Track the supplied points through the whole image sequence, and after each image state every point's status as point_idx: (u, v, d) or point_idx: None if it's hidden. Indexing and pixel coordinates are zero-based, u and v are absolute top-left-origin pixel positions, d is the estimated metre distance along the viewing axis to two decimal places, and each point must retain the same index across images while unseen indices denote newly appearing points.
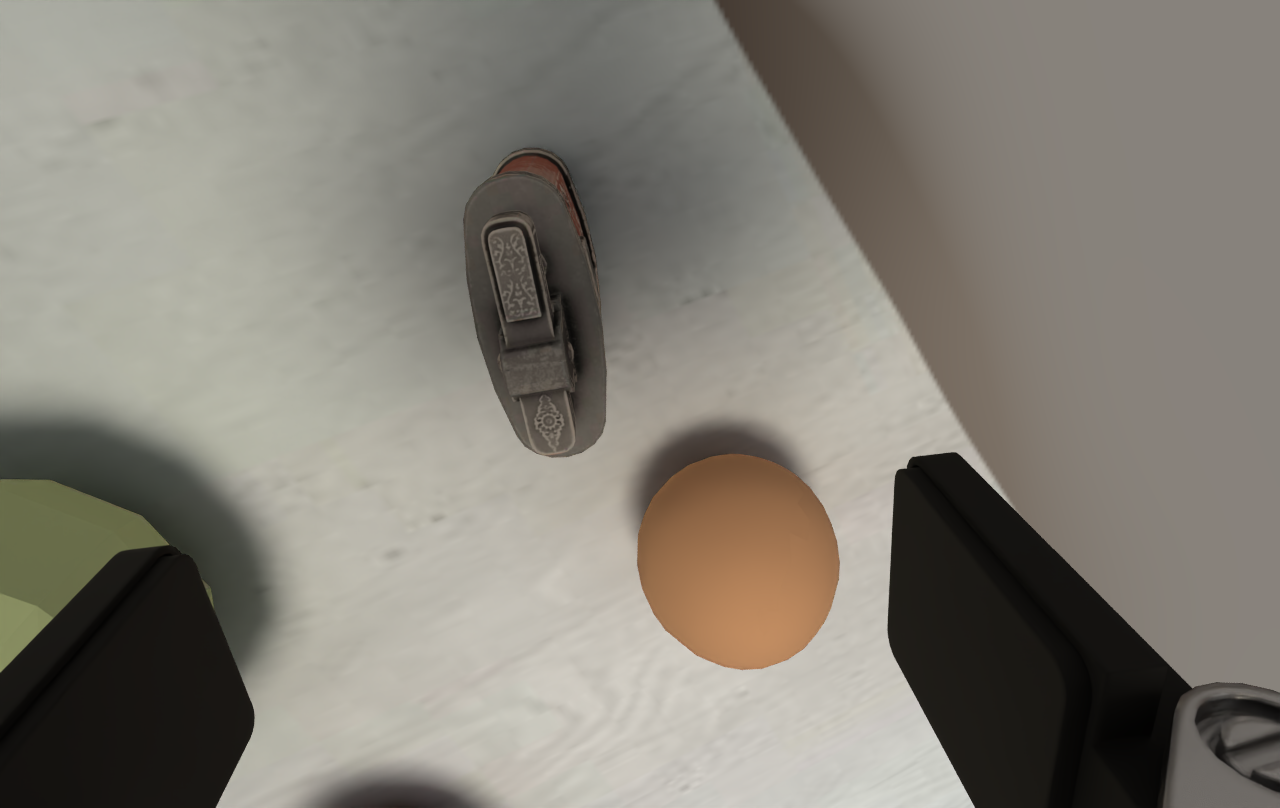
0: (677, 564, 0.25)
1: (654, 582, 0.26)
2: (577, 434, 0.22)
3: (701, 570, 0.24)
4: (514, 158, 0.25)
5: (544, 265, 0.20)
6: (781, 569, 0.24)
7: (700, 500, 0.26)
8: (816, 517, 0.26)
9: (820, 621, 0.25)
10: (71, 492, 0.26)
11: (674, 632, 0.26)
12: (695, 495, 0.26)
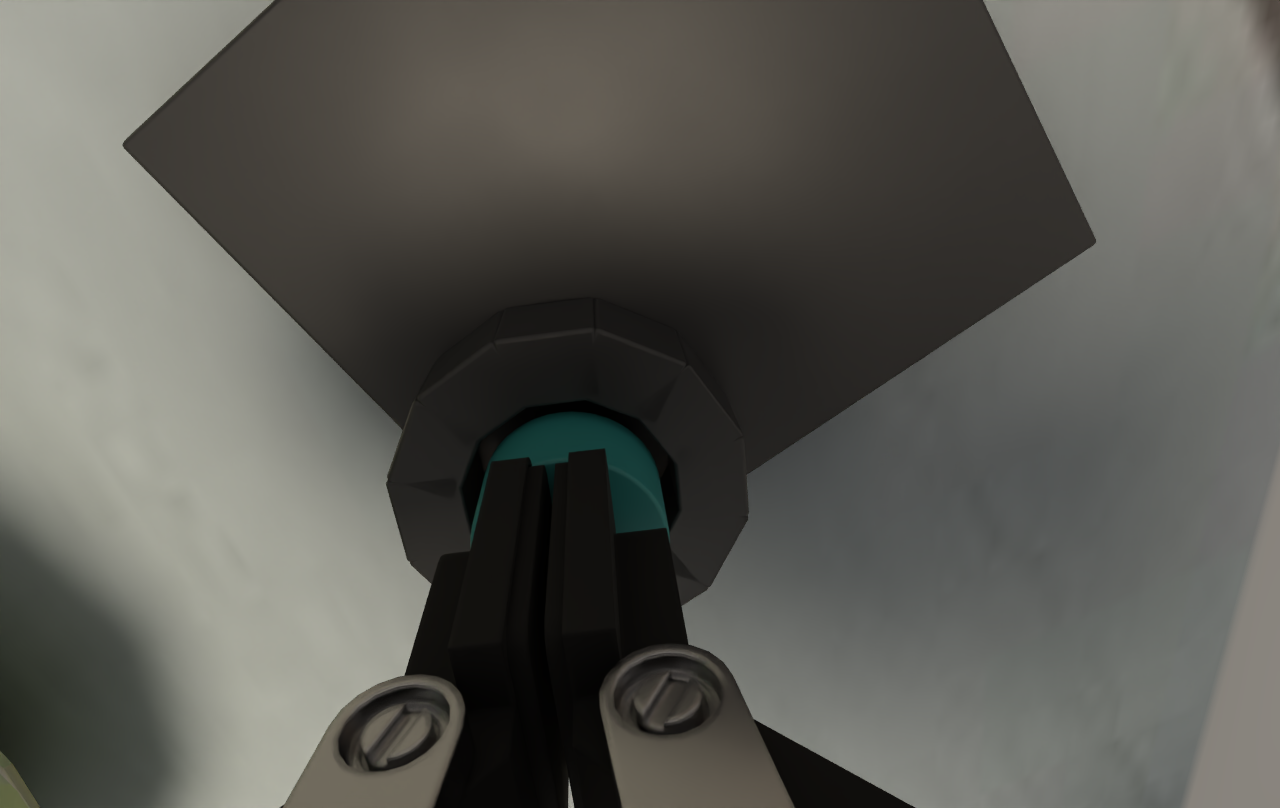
0: None
1: None
2: None
3: None
4: None
5: None
6: None
7: None
8: None
9: None
10: None
11: None
12: None
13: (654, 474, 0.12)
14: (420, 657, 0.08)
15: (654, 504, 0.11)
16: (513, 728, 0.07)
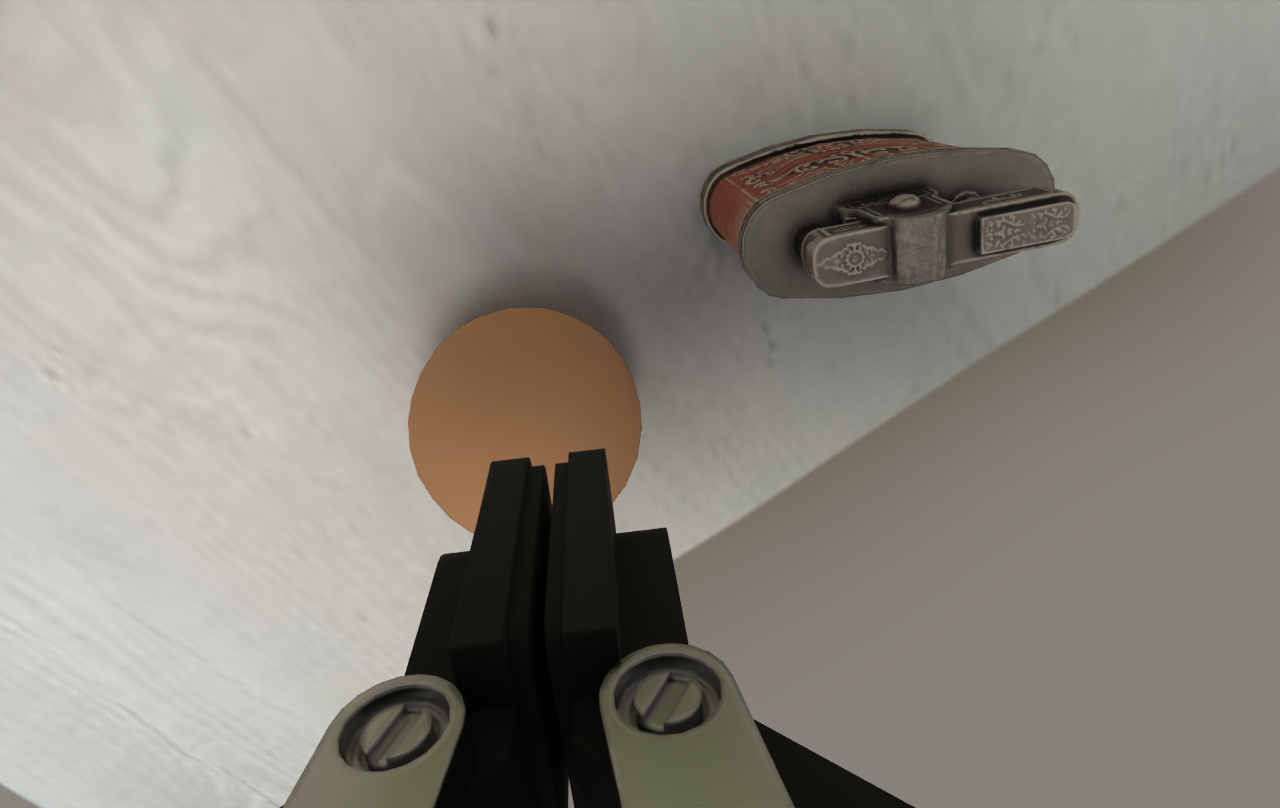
0: (568, 377, 0.21)
1: (526, 348, 0.21)
2: (770, 267, 0.19)
3: (576, 409, 0.21)
4: None
5: None
6: None
7: (624, 387, 0.23)
8: None
9: None
10: None
11: (470, 381, 0.21)
12: (624, 379, 0.23)
13: None
14: (420, 657, 0.08)
15: None
16: (513, 728, 0.07)
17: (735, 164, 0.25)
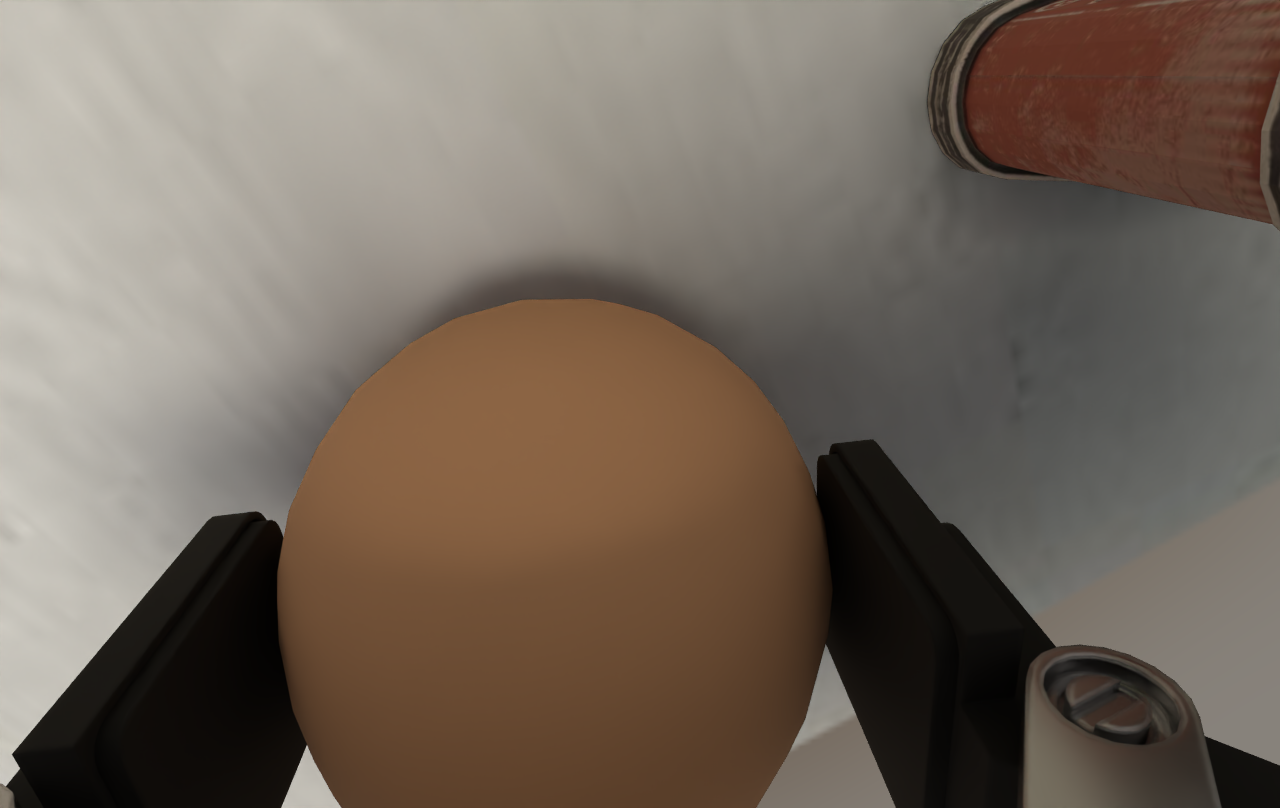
0: (698, 492, 0.08)
1: (582, 405, 0.08)
2: None
3: (725, 586, 0.07)
4: None
5: None
6: None
7: (810, 497, 0.09)
8: None
9: None
10: None
11: (423, 503, 0.07)
12: (805, 475, 0.10)
13: None
14: None
15: None
16: None
17: None
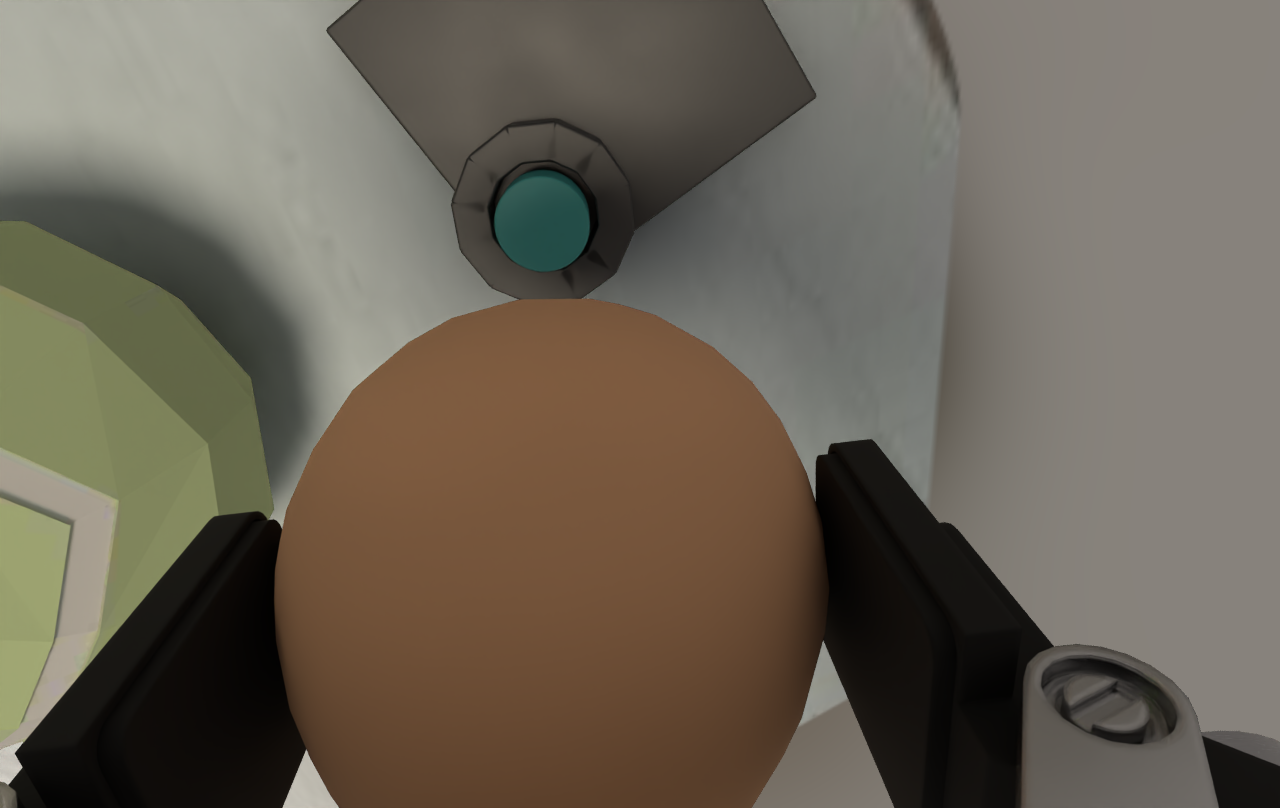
0: (693, 491, 0.08)
1: (578, 405, 0.08)
2: None
3: (721, 586, 0.07)
4: None
5: None
6: None
7: (807, 496, 0.09)
8: None
9: None
10: None
11: (419, 502, 0.07)
12: (802, 475, 0.10)
13: (584, 198, 0.24)
14: None
15: (582, 202, 0.24)
16: None
17: None
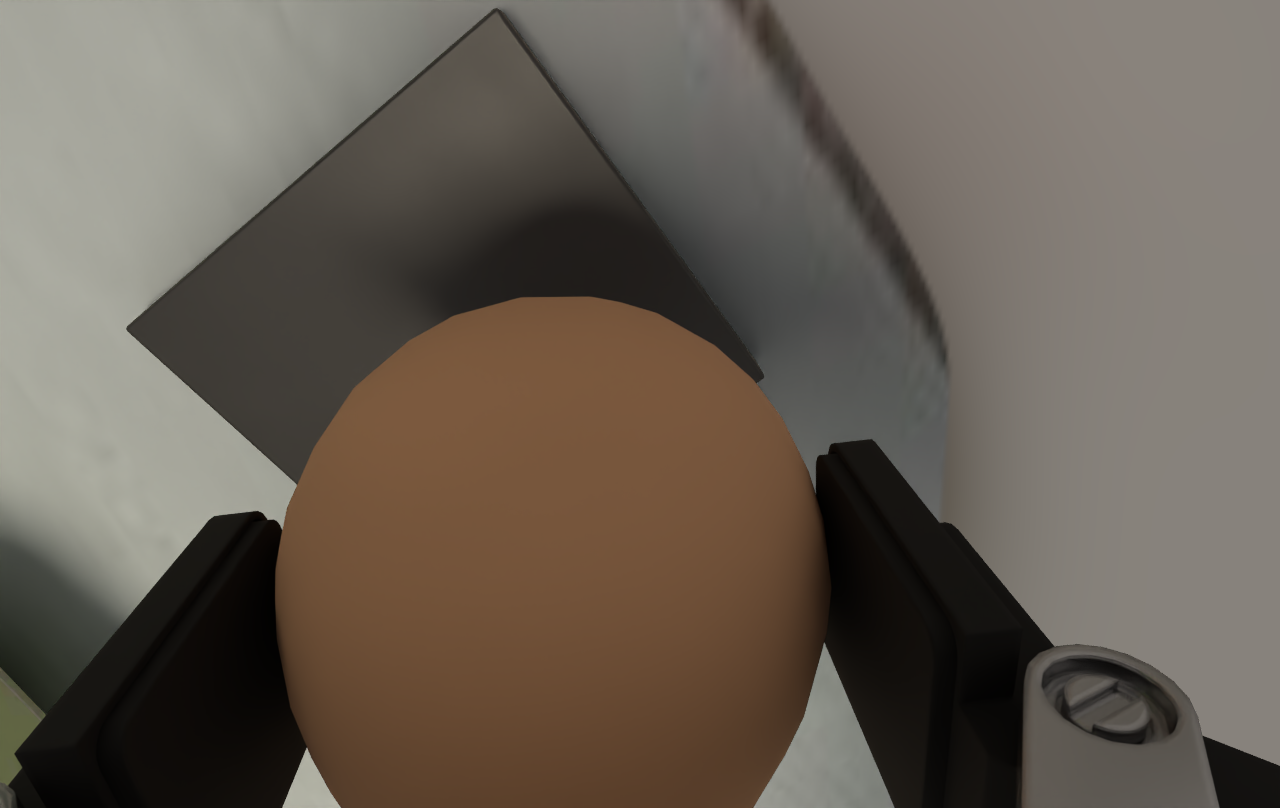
0: (696, 489, 0.08)
1: (580, 403, 0.08)
2: None
3: (723, 584, 0.07)
4: None
5: None
6: (745, 806, 0.08)
7: (809, 494, 0.09)
8: None
9: None
10: None
11: (420, 500, 0.07)
12: (804, 473, 0.10)
13: None
14: None
15: None
16: None
17: None
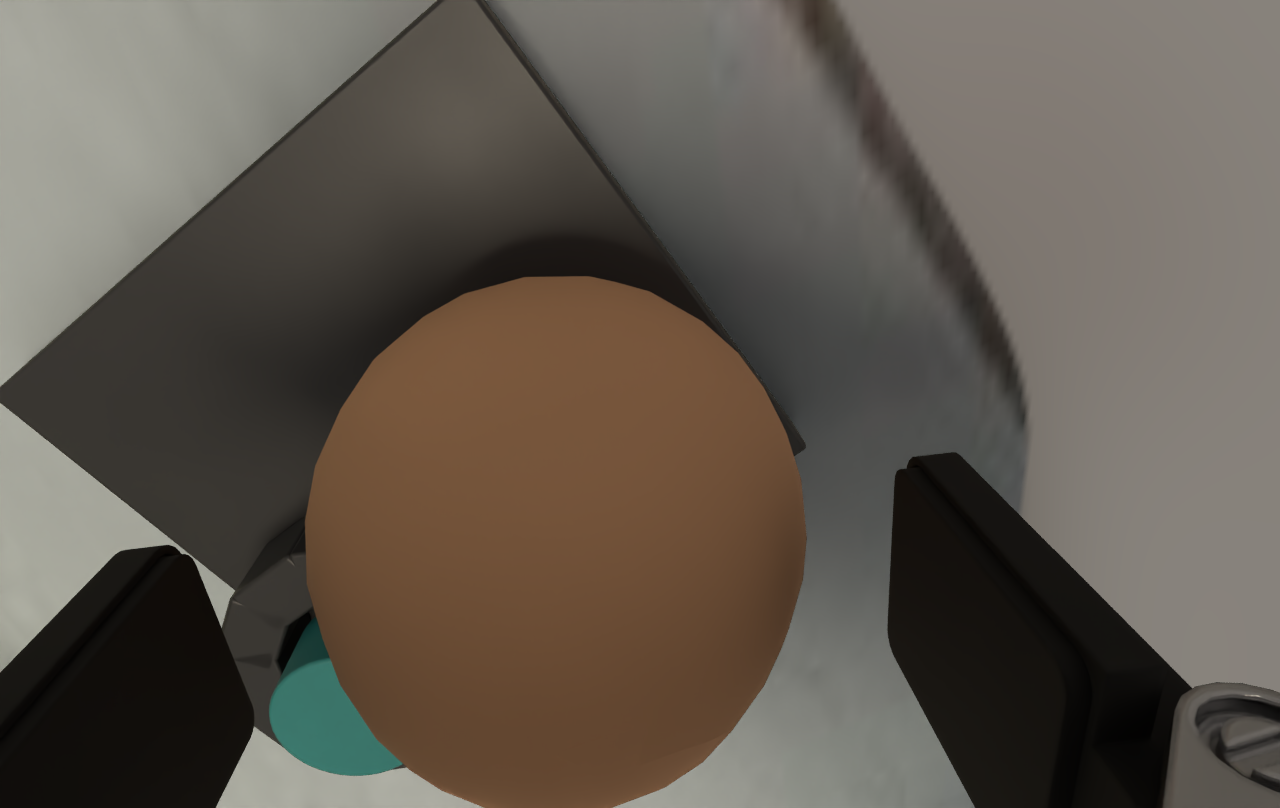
0: (682, 441, 0.09)
1: (580, 366, 0.09)
2: None
3: (706, 522, 0.08)
4: None
5: None
6: (727, 723, 0.09)
7: (785, 452, 0.10)
8: None
9: None
10: None
11: (440, 449, 0.08)
12: (781, 434, 0.11)
13: None
14: None
15: None
16: None
17: None
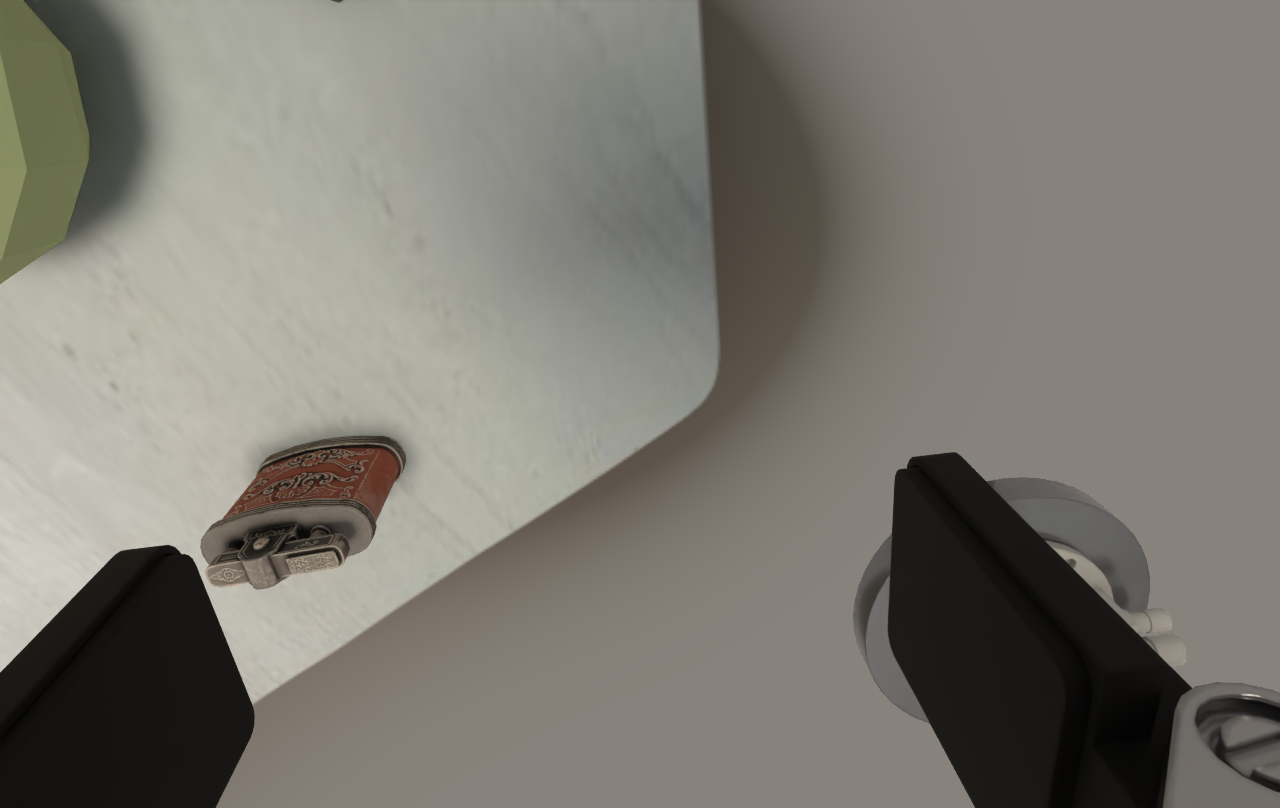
0: None
1: None
2: None
3: None
4: (395, 456, 0.41)
5: None
6: None
7: None
8: None
9: None
10: None
11: None
12: None
13: None
14: None
15: None
16: None
17: (271, 460, 0.41)
